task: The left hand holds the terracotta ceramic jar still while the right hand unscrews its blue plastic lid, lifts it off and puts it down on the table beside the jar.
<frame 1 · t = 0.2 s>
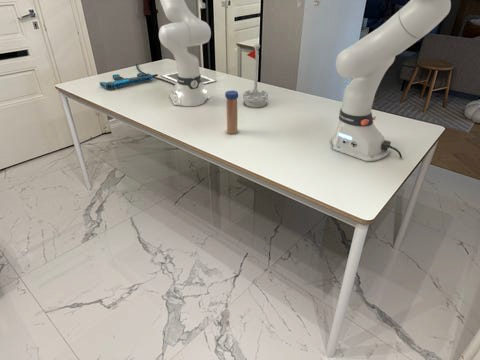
left hand: (213, 7, 132), 48 cm above the table, tool pointing down, fingers open, 8 cm apart
right hand: (308, 6, 134), 48 cm above the table, tool pointing down, fingers open, 8 cm apart
flag stand: (255, 103, 178), on the table
tablet: (188, 78, 215), on the table
lid: (231, 93, 140), point 17 cm above the table, screwed on, not yet turned
submachine gun: (128, 81, 211), on the table
jar: (232, 131, 149), on the table
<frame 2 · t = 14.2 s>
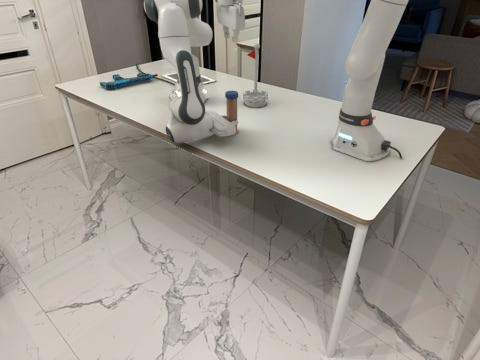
left hand: (233, 119, 146), 6 cm above the table, tool horizontal, fingers closed on jar, 4 cm apart
right hand: (230, 40, 128), 38 cm above the table, tool pointing down, fingers open, 7 cm apart
jar: (232, 131, 149), on the table, touching left hand
everything else where it was.
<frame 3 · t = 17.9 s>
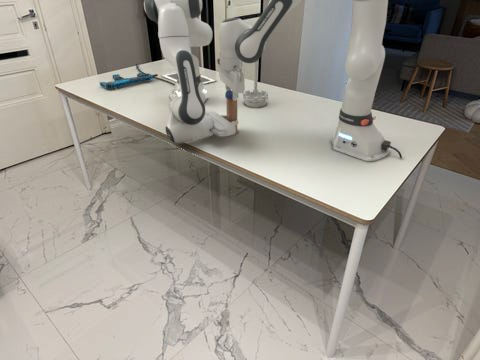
left hand: (233, 119, 146), 6 cm above the table, tool horizontal, fingers closed on jar, 4 cm apart
right hand: (231, 97, 140), 16 cm above the table, tool pointing down, fingers closed on lid, 5 cm apart
lid: (231, 93, 140), point 17 cm above the table, screwed on, not yet turned, touching right hand
jar: (232, 131, 149), on the table, touching left hand
everything else where it was.
when the right hand's fingers open (16 cm above the table, at t = 19.0 s): lid stays where it is, point 18 cm above the table.
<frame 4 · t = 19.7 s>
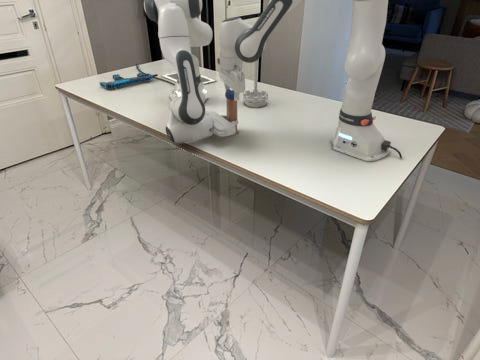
left hand: (233, 119, 146), 6 cm above the table, tool horizontal, fingers closed on jar, 4 cm apart
right hand: (232, 96, 141), 16 cm above the table, tool pointing down, fingers open, 7 cm apart
lid: (231, 93, 139), point 18 cm above the table, turned 60° so far, risen 0.1 cm, still on its thread
jar: (232, 131, 149), on the table, touching left hand
everything else where it was.
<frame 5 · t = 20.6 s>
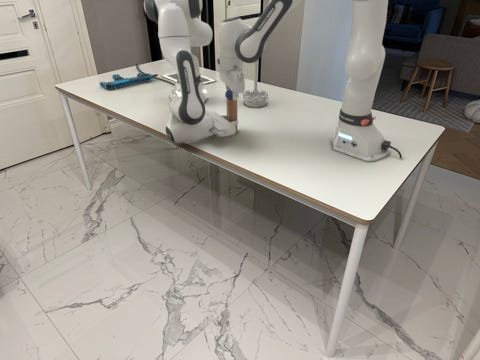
left hand: (233, 119, 146), 6 cm above the table, tool horizontal, fingers closed on jar, 4 cm apart
right hand: (231, 97, 140), 16 cm above the table, tool pointing down, fingers closed on lid, 5 cm apart
lid: (231, 93, 139), point 18 cm above the table, turned 60° so far, risen 0.2 cm, still on its thread, touching right hand
jar: (232, 131, 149), on the table, touching left hand
everything else where it was.
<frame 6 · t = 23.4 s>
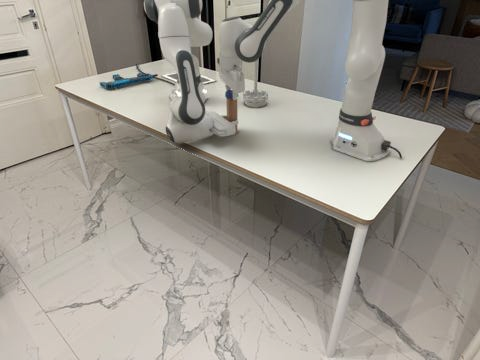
left hand: (233, 119, 146), 6 cm above the table, tool horizontal, fingers closed on jar, 4 cm apart
right hand: (231, 96, 140), 16 cm above the table, tool pointing down, fingers closed on lid, 5 cm apart
lid: (231, 92, 139), point 18 cm above the table, turned 120° so far, risen 0.3 cm, still on its thread, touching right hand
jar: (232, 132, 149), on the table, touching left hand
everything else where it was.
when the right hand's fingers open (2 cm above the table, at t = 32.5 s): lid drops 2 cm, point 2 cm above the table.
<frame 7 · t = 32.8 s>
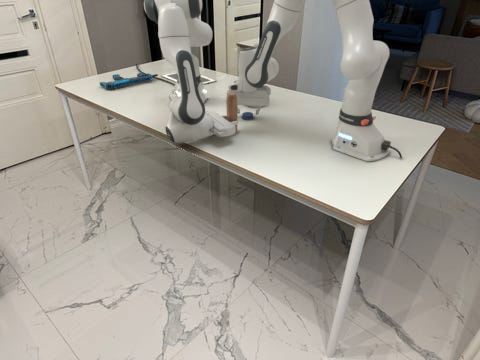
left hand: (233, 119, 146), 6 cm above the table, tool horizontal, fingers closed on jar, 4 cm apart
right hand: (247, 113, 161), 2 cm above the table, tool pointing down, fingers open, 8 cm apart
lid: (247, 114, 162), point 2 cm above the table, off its thread
jar: (232, 132, 149), on the table, touching left hand
everything else where it was.
when the left hand's fingers open (6 cm above the table, at t = 33.6 s): jar stays where it is, on the table.
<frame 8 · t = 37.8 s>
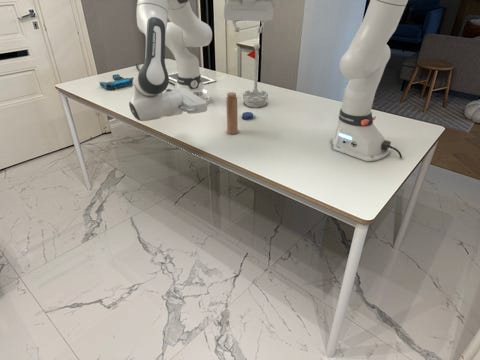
left hand: (207, 96, 134), 18 cm above the table, tool horizontal, fingers open, 8 cm apart
right hand: (248, 32, 142), 38 cm above the table, tool pointing down, fingers open, 8 cm apart
jar: (232, 132, 149), on the table
everything else where it was.
at the end: lid came off its thread; lid point 1.6 cm above the table; the left hand is holding nothing; the right hand is holding nothing; jar tilted 0°; jar moved 0.1 cm from its start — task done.
